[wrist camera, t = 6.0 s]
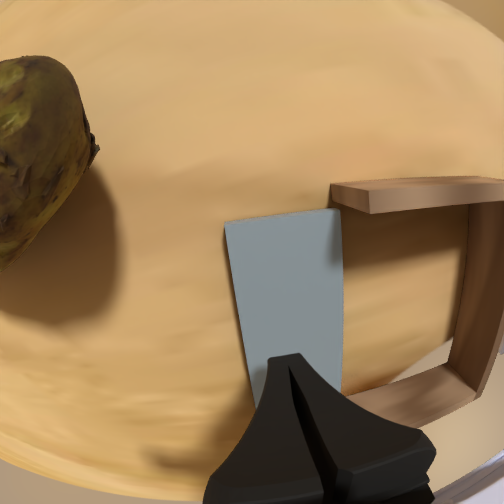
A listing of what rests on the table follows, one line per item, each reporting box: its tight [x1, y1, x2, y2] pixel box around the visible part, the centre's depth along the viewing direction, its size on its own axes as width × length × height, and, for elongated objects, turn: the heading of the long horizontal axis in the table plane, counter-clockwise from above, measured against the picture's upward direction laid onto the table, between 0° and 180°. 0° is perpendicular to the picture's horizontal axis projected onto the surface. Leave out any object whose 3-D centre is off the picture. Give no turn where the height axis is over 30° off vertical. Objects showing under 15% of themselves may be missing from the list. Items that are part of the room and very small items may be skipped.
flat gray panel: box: [224, 208, 343, 409], centre depth 14 cm, size 1×12×5 cm
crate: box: [331, 176, 504, 429], centre depth 13 cm, size 10×14×4 cm
